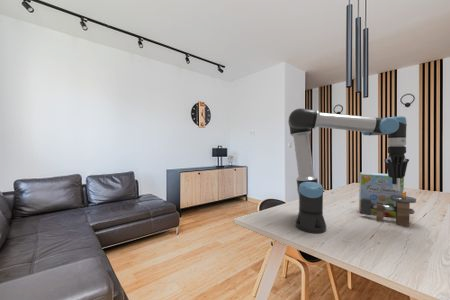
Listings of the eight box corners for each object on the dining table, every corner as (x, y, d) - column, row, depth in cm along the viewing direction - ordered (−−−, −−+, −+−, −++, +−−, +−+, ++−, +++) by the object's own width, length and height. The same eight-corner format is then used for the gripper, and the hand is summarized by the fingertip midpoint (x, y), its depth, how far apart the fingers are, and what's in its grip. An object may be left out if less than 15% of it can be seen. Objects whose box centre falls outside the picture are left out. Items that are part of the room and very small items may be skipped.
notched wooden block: (409, 227, 109) (409, 203, 109) (376, 221, 118) (377, 198, 117) (407, 222, 116) (407, 199, 116) (376, 216, 125) (376, 195, 124)
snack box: (359, 213, 131) (360, 173, 130) (358, 209, 139) (358, 172, 138) (403, 219, 121) (404, 176, 120) (399, 214, 129) (400, 174, 128)
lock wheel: (417, 204, 106) (417, 193, 106) (390, 200, 113) (390, 190, 113) (414, 199, 115) (414, 189, 115) (389, 196, 122) (389, 187, 122)
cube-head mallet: (414, 222, 110) (415, 206, 110) (361, 214, 124) (362, 199, 124) (413, 220, 113) (414, 204, 113) (362, 212, 127) (362, 198, 127)
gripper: (392, 146, 103) (392, 192, 104) (414, 145, 105) (414, 191, 106) (379, 146, 111) (379, 189, 111) (400, 145, 113) (399, 188, 113)
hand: (396, 190), depth 109 cm, fingers closed
